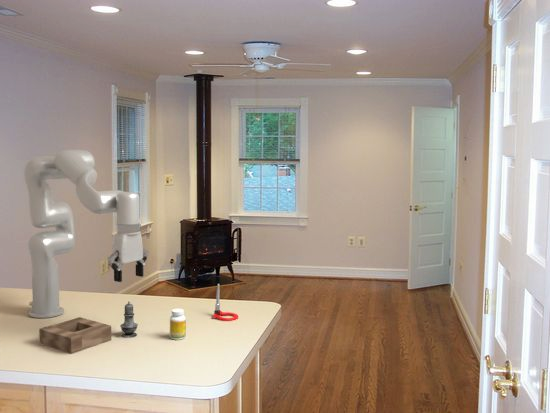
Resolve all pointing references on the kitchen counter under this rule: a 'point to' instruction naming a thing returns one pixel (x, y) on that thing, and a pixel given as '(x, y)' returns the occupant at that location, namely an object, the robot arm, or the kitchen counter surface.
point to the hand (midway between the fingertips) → (129, 278)
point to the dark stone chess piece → (129, 322)
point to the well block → (75, 335)
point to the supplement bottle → (177, 324)
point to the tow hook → (218, 312)
